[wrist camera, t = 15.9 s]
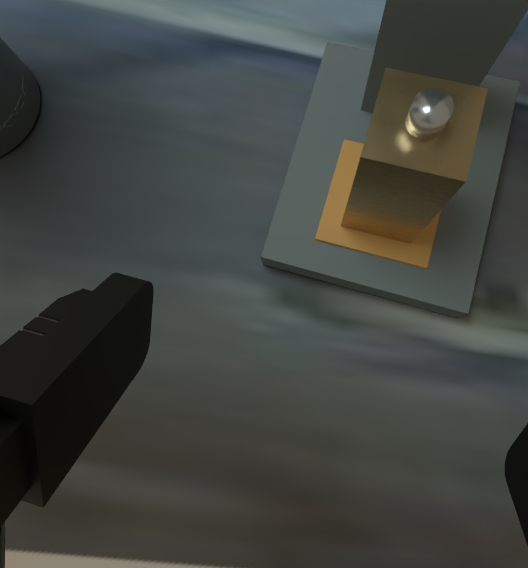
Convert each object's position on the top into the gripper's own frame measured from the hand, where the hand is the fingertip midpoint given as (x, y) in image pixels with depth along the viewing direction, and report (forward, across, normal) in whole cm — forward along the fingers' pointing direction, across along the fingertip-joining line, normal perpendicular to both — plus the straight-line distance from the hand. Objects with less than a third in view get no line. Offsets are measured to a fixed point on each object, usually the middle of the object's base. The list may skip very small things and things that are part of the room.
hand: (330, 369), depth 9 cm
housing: (+20, -3, +2) cm, 21 cm away
